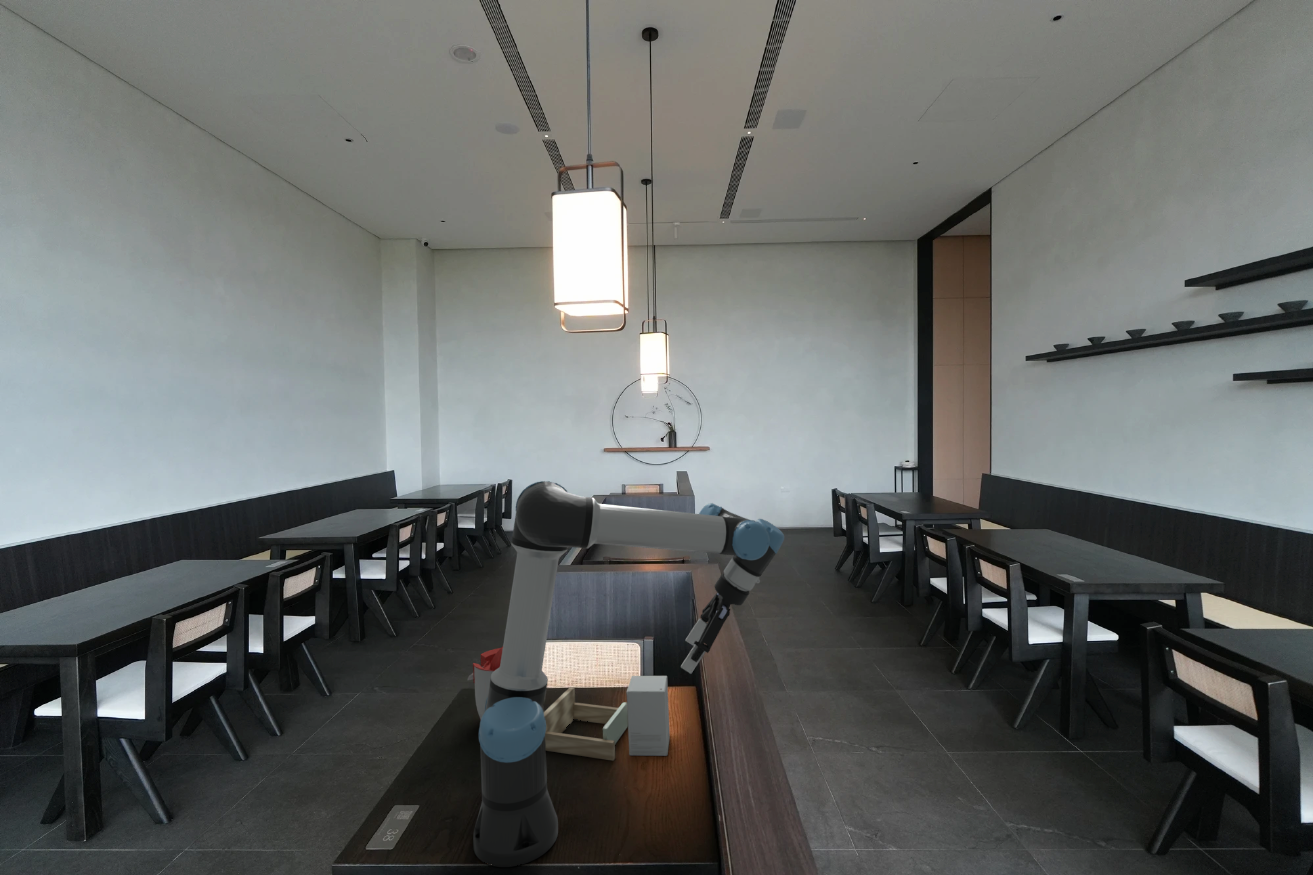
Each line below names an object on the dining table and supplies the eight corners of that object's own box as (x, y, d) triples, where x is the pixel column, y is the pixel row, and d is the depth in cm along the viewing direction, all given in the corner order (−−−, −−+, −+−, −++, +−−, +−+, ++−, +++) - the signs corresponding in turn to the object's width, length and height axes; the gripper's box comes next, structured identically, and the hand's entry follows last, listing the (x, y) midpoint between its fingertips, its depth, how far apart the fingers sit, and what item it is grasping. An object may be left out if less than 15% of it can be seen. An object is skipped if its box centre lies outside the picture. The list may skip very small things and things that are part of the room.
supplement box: (670, 736, 142) (668, 674, 142) (667, 756, 134) (665, 691, 133) (633, 735, 143) (631, 674, 143) (627, 756, 134) (625, 690, 134)
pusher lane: (613, 760, 133) (612, 725, 133) (541, 749, 138) (540, 715, 138) (637, 725, 148) (636, 694, 148) (571, 717, 153) (570, 686, 153)
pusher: (607, 754, 135) (606, 728, 134) (603, 754, 135) (602, 728, 135) (627, 726, 147) (626, 702, 147) (624, 725, 147) (623, 702, 147)
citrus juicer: (480, 709, 160) (477, 635, 159) (544, 708, 159) (541, 634, 159) (458, 739, 144) (455, 658, 144) (529, 738, 143) (526, 657, 143)
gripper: (752, 612, 122) (699, 692, 125) (749, 573, 147) (704, 641, 150) (721, 592, 122) (669, 672, 126) (723, 557, 147) (679, 625, 150)
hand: (688, 655), depth 138 cm, fingers open, 13 cm apart
